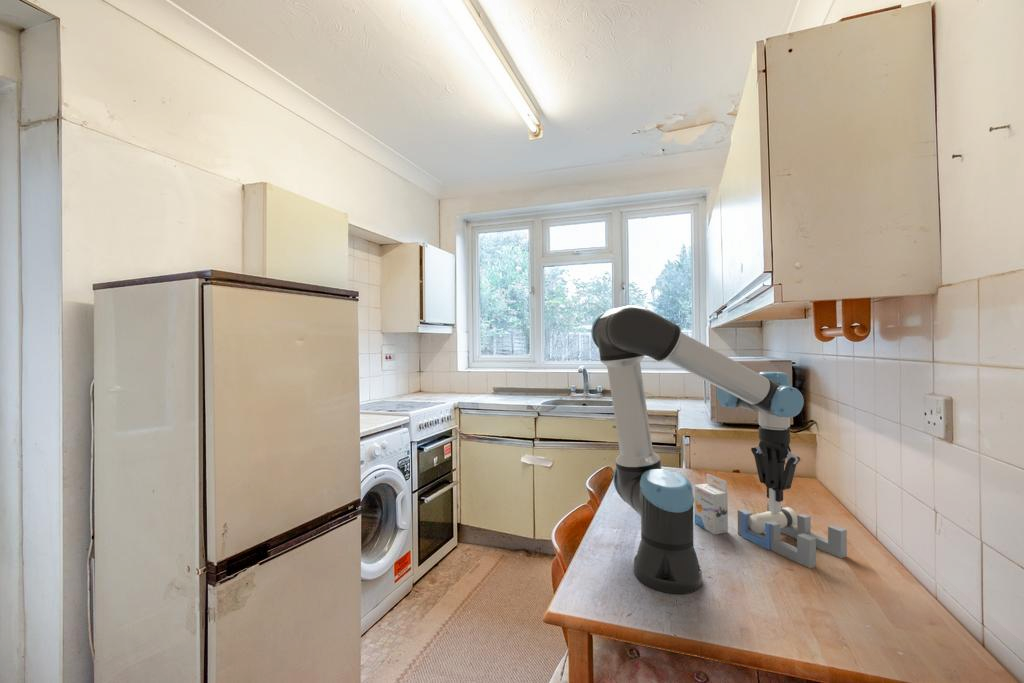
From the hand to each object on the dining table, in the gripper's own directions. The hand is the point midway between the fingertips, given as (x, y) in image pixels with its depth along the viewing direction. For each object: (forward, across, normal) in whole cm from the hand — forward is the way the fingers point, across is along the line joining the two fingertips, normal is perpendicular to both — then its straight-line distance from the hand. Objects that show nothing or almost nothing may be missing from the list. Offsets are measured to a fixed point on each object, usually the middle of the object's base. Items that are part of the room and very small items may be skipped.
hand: (775, 511), depth 118 cm
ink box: (+8, +12, +11) cm, 18 cm away
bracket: (+7, -4, 0) cm, 8 cm away
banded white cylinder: (+5, 0, 0) cm, 5 cm away
